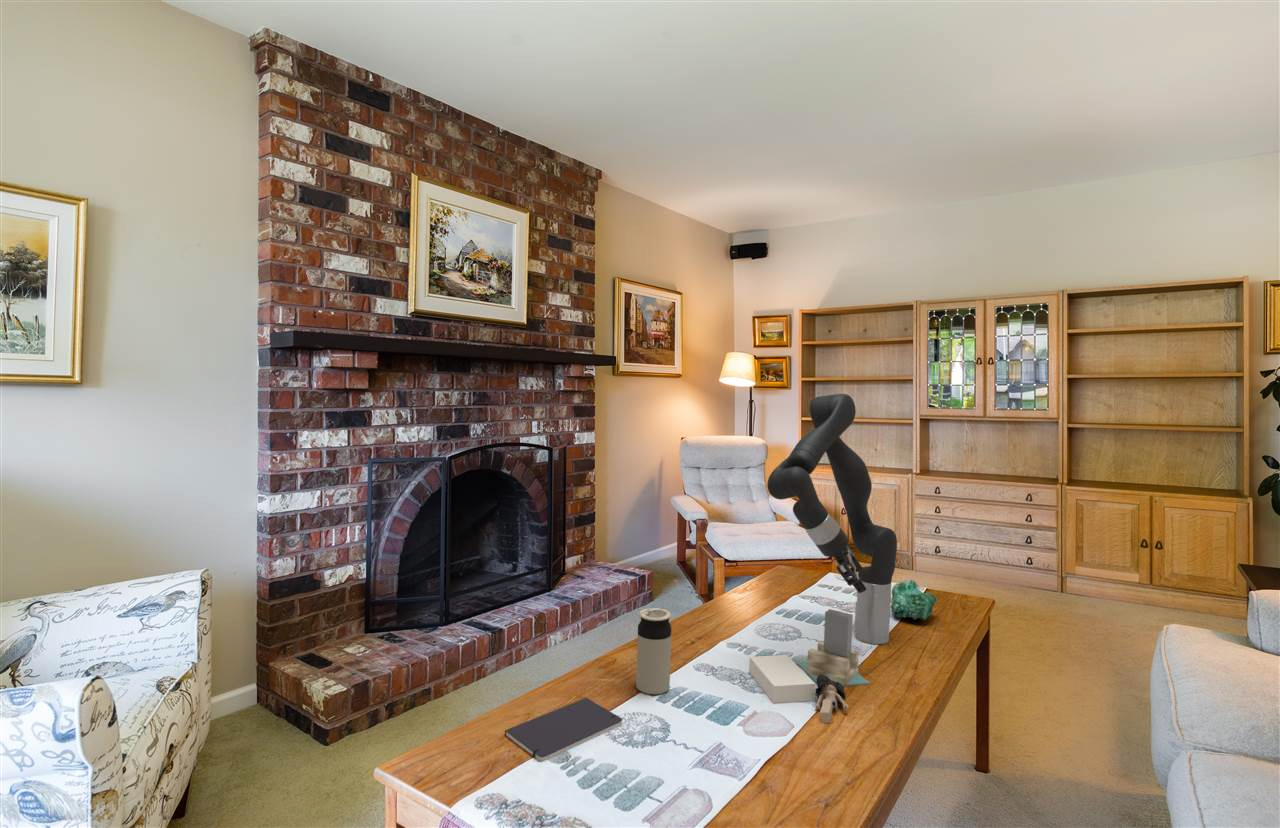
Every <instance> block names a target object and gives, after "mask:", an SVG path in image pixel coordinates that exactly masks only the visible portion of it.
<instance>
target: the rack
mask: <svg viewBox="0 0 1280 828" xmlns="http://www.w3.org/2000/svg"><path fill="white" fill-rule="evenodd" d="M807 662H808V664H807V673H809V674H813V675H816V676H820V675H821V674H822V675H824V676H827V678H829V679H830V680H832V681H835V682H837V681H838V682H839V683H842V684H845V685H846V684H847V683H848V682H849V681H850V680H851V679H852V678H853V677H854V676H855V675H856V674H857V673H859V651H858V650H854V649H851V667H850V659H846V658H843V657H839V656H836V655H832V654H829V653H825V652H824V641H819V642H817V649H813V648H809V650H808V651H807ZM849 669H850V670H849ZM807 673H806V674H807Z"/></svg>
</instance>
